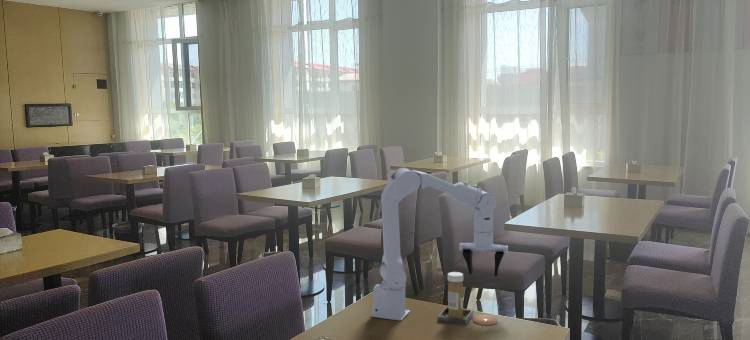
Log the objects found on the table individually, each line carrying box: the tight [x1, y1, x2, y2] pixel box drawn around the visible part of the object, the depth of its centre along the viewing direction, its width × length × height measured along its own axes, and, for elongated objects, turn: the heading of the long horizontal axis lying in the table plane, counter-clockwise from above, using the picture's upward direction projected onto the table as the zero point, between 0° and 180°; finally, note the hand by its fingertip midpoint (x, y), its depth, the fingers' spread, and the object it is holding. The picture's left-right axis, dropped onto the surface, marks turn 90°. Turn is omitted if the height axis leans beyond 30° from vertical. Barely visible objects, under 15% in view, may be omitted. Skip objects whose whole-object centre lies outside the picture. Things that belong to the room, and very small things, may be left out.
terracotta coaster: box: [472, 314, 498, 326], centre depth 166 cm, size 7×7×1 cm
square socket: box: [437, 306, 474, 326], centre depth 169 cm, size 8×8×2 cm
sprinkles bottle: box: [447, 271, 464, 319], centre depth 168 cm, size 5×5×14 cm
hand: (483, 274), depth 176 cm, fingers open, 7 cm apart
